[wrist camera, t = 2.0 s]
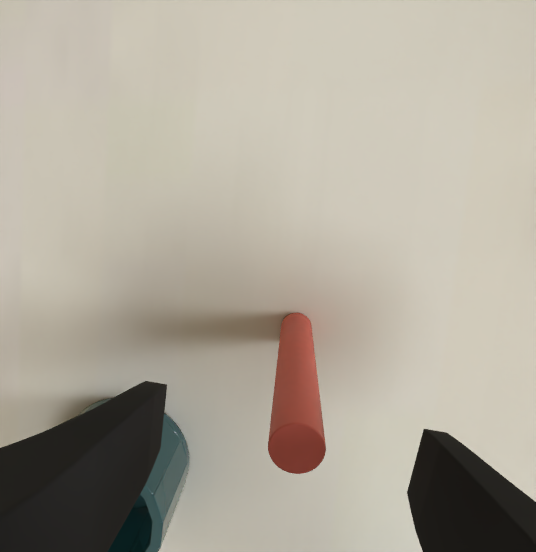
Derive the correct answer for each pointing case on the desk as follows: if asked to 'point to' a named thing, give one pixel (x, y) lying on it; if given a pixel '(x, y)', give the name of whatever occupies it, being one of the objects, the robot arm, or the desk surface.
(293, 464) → the red cylinder rod
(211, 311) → the desk surface
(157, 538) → the cup
